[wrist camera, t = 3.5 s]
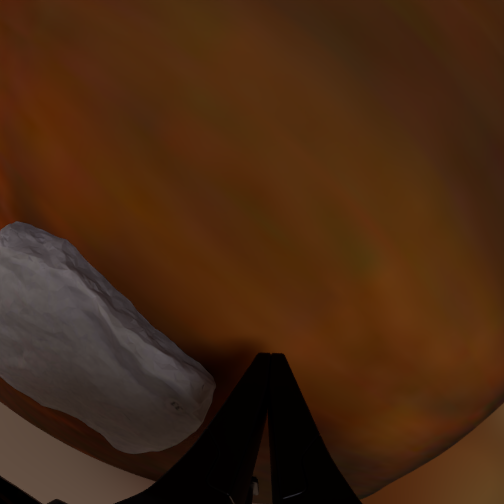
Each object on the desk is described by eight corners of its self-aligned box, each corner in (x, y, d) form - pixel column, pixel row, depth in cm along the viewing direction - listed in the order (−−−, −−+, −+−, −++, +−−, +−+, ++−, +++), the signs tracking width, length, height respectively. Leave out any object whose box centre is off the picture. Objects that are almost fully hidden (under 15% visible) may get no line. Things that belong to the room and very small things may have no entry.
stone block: (39, 181, 10) (9, 322, 13) (-34, 207, 6) (-31, 367, 8) (252, 319, 13) (162, 419, 16) (258, 400, 9) (150, 480, 11)
